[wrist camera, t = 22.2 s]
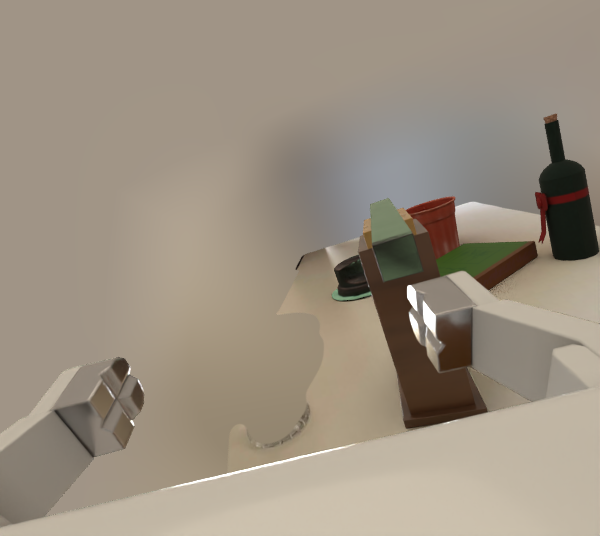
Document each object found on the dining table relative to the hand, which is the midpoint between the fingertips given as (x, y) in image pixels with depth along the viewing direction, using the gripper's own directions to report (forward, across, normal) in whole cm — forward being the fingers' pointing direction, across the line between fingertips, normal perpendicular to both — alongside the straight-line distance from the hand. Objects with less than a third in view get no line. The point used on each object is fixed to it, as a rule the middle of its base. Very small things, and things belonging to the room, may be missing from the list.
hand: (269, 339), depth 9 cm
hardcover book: (+62, -40, +43) cm, 85 cm away
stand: (+29, -16, +36) cm, 49 cm away
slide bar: (+28, -12, +11) cm, 32 cm away
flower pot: (+85, -42, +48) cm, 107 cm away
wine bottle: (+55, -58, +39) cm, 89 cm away
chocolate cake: (+79, -16, +49) cm, 95 cm away
